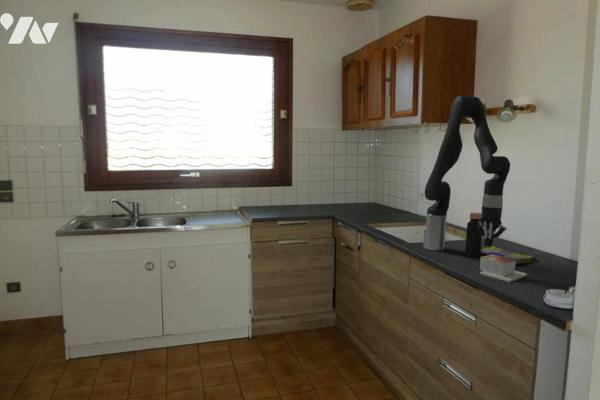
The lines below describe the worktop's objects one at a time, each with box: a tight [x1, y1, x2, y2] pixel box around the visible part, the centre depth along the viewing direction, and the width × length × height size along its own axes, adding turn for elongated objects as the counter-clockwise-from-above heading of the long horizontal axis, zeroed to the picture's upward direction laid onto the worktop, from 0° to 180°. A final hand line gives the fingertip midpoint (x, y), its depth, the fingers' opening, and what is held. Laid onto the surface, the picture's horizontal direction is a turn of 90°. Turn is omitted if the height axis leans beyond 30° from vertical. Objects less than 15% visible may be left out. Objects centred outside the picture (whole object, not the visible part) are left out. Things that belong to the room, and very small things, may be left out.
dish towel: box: [480, 245, 538, 266], centre depth 199 cm, size 18×24×3 cm
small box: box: [479, 254, 516, 277], centre depth 173 cm, size 8×6×10 cm
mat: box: [479, 270, 528, 283], centre depth 172 cm, size 12×14×1 cm
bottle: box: [464, 212, 484, 258], centre depth 199 cm, size 7×7×20 cm
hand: (488, 246), depth 177 cm, fingers closed
